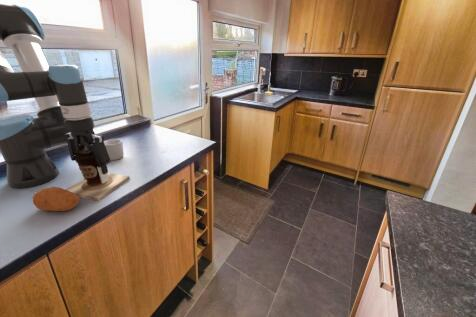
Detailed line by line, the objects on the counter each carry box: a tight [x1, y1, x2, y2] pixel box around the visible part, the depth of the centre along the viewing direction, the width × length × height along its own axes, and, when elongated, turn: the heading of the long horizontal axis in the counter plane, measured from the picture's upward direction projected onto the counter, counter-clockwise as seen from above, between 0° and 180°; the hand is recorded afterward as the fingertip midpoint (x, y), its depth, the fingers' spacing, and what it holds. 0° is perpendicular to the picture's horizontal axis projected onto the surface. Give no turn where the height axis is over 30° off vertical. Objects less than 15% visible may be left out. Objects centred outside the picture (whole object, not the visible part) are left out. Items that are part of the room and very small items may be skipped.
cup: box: [104, 138, 124, 161], centre depth 106 cm, size 11×8×8 cm
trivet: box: [65, 172, 131, 202], centre depth 85 cm, size 15×15×1 cm
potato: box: [32, 186, 81, 212], centre depth 71 cm, size 7×13×7 cm, turn 80°
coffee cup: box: [75, 146, 107, 186], centre depth 81 cm, size 9×8×13 cm
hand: (96, 179), depth 84 cm, fingers closed on coffee cup, 7 cm apart
